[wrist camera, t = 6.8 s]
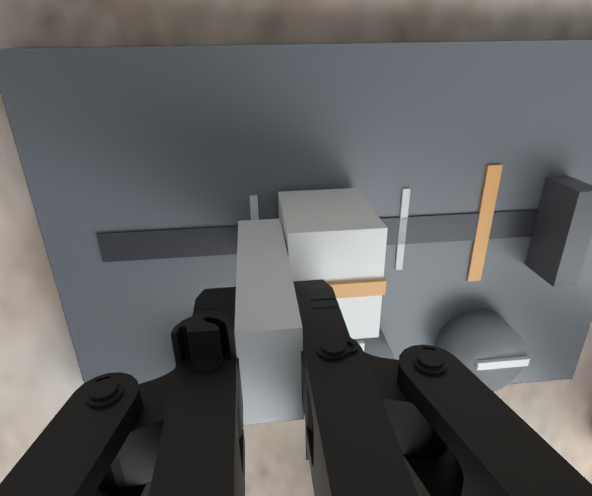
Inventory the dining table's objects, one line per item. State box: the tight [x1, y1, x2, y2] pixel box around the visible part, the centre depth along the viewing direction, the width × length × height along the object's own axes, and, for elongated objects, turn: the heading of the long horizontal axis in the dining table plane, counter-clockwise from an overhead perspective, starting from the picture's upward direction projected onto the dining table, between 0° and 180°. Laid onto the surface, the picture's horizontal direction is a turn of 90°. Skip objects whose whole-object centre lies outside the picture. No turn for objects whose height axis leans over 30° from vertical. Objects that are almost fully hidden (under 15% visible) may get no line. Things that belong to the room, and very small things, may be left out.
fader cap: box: [278, 188, 388, 339], centre depth 15 cm, size 3×4×4 cm
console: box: [0, 40, 592, 391], centre depth 18 cm, size 24×16×4 cm, turn 91°
